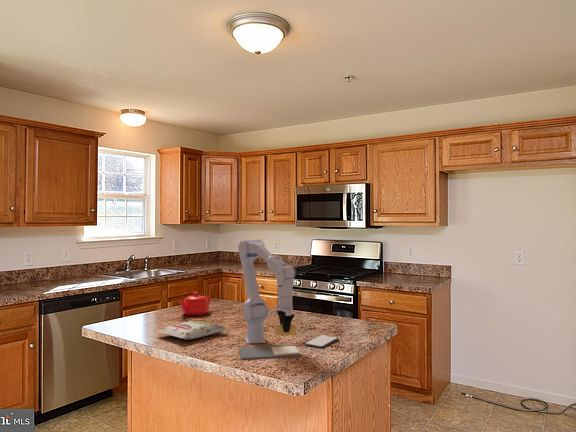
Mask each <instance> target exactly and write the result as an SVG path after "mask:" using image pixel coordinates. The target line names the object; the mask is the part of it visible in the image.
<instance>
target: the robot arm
mask: <svg viewBox="0 0 576 432" xmlns="http://www.w3.org/2000/svg"><path fill="white" fill-rule="evenodd" d="M237 249H238V255H239V256H238V257H239V259H240V263H241V269H242V274H243V281H244V286H245V292H246V301H245V302H244V303H243V304H242V306H243V310H242V315H243V318H244V319H245V321H246V323H247V327H246V328H247V330H246V336H245V340H246V341H245V342H246V344H265V343H267V342H266V339H265V338H264V337H265V334H264V333H265V321H266V318H267V317H268V315H269V308H268V306H267V304H266V301H265V299H263V298H262V297H261V296H260V292H259V291H260V290H259V285H258V281H257V276H256V275H257V274H256V270H255V264H254V262H255V260H257V259H258V257H261V258H262V259H263V260H264V261H265V262H266V265H267V268H269V269H270V270H272V272H273V273H274V275H275V279H276V285H277V286H278V287H277V304H278V305H277V306H275V309H274V310H276V313H277V315H278V320H279V324H282V325H283V331H284V332H289V331H290V326H291V324H292V321H293V320H294V317H295V314H294V313H292V311H293V309H294V307H293V280H294V279H295V277H296V273H297V272H296V269H295V267H294V266H293V265H292V264H286V262H285V261H284V260H282V259H281V258H280V256H279V255H276V254H272V253H271V251H269V250H268V249H267V247H265V243H264V241H262V240H261V239H241V240H240V242H239V244H238V246H237Z"/></svg>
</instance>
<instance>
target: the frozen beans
mask: <svg viewBox="0 0 576 432" xmlns="http://www.w3.org/2000/svg"><path fill="white" fill-rule="evenodd" d="M226 329H229V327H227V326H224V325H220V324H218V323H212V322H207V321H201V320H192V321H186V322H181V323H177V324H176V323H175V324H173V325H169V326H167V327H164V328H161V329H158V331H157V333H160V334H162V335H166V336H171V337H174V338H179V339H183V340H185V341H188V340H189V341H190V340H195V339H198V338H199V339H200V338H202V337H207V336H210V335H214V334H217V333H222V332H223V331H224V330H226Z"/></svg>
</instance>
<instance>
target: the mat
mask: <svg viewBox="0 0 576 432" xmlns="http://www.w3.org/2000/svg"><path fill="white" fill-rule="evenodd" d="M238 353H239V357H240V360H242V361H243V360H260V359H261V360H262V359H276V358H277V359H279V358H280V359H281V358H296V357H302V355H301V352H300V351H299V350H298V348H297V346H296V345H295V344H279V345H278V344H277V345H260V346H259V345H256V346H238Z"/></svg>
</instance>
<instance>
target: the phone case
mask: <svg viewBox="0 0 576 432" xmlns="http://www.w3.org/2000/svg"><path fill="white" fill-rule="evenodd" d="M336 341H337V342H338V341H339V337H338V336H332V335H326V334H321V335H319V336H316V337H315V338H313V339H311V340H309V341H307V342H305V343H304V345H305V347H309V348H316V349H320V350H321V349H322V348H323V349H325V348H327V347H329V346H331V345H333V344H335V343H336ZM334 342H335V343H334ZM332 343H333V344H332ZM330 344H331V345H330Z"/></svg>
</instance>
